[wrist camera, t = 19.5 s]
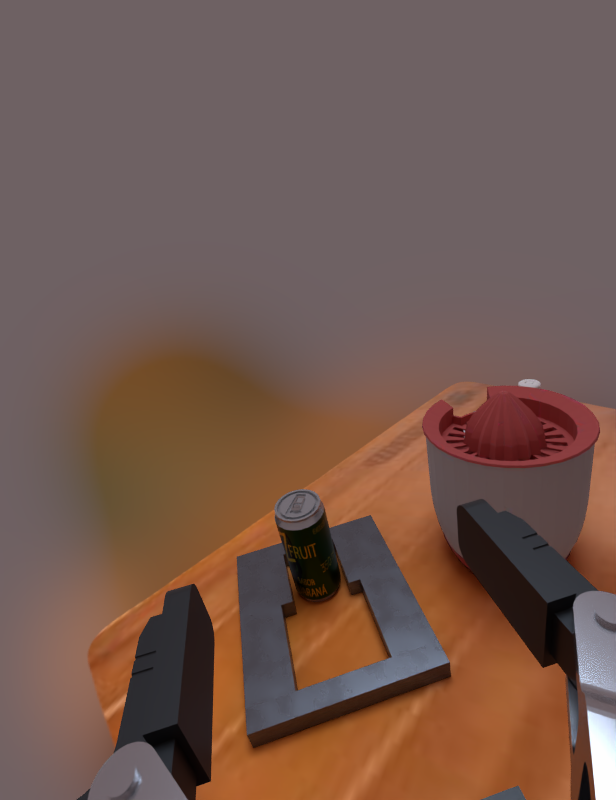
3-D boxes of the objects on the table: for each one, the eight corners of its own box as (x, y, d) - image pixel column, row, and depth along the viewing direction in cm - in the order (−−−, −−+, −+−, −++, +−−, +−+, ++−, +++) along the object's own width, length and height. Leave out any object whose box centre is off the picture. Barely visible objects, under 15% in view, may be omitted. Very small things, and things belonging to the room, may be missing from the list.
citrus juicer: (512, 480, 56) (514, 345, 48) (622, 577, 41) (653, 401, 32) (407, 511, 55) (390, 378, 47) (479, 624, 39) (473, 454, 31)
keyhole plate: (450, 675, 36) (449, 662, 35) (253, 747, 34) (246, 735, 33) (372, 526, 54) (370, 515, 53) (241, 568, 52) (236, 556, 51)
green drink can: (303, 564, 50) (281, 488, 45) (345, 566, 49) (327, 487, 44) (291, 602, 46) (265, 522, 41) (337, 606, 44) (316, 523, 39)
